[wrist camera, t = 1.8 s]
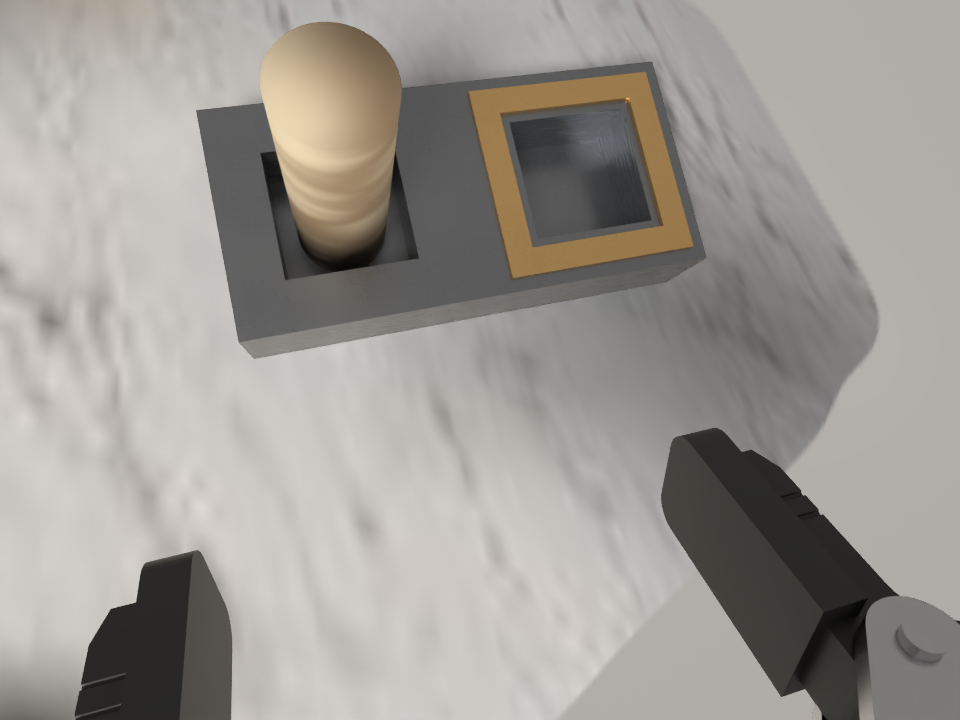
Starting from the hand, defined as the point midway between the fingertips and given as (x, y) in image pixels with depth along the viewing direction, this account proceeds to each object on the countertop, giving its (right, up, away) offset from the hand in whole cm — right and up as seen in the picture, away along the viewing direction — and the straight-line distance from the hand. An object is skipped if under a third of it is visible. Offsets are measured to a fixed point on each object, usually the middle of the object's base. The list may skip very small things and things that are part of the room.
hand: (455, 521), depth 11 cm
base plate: (-1, +10, +22) cm, 24 cm away
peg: (-6, +9, +19) cm, 22 cm away
